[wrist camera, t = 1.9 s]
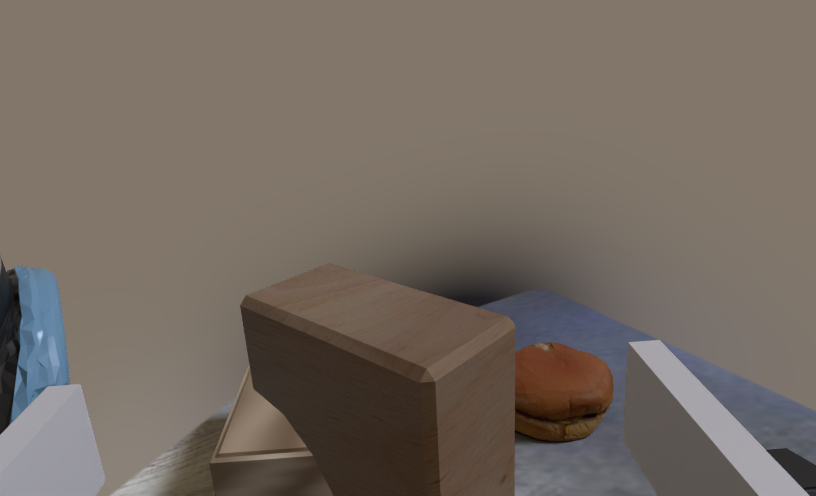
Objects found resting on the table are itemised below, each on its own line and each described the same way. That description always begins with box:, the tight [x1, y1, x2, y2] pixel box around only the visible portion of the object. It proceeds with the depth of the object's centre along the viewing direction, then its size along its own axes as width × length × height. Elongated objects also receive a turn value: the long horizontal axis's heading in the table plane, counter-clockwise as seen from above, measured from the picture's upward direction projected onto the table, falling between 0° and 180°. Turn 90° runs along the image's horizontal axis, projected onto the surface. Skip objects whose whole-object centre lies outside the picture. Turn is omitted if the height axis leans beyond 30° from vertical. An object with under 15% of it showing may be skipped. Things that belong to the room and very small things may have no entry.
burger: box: [515, 342, 613, 441], centre depth 51 cm, size 10×9×5 cm
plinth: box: [209, 365, 333, 496], centre depth 45 cm, size 12×14×6 cm
